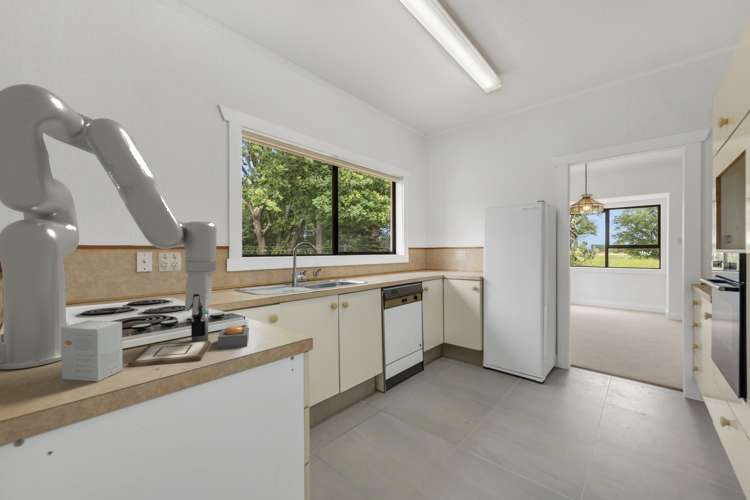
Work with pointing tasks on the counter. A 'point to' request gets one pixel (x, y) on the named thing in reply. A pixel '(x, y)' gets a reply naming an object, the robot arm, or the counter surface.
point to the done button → (234, 330)
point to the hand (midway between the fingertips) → (200, 332)
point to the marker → (205, 337)
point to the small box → (91, 350)
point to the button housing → (233, 339)
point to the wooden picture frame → (171, 353)
